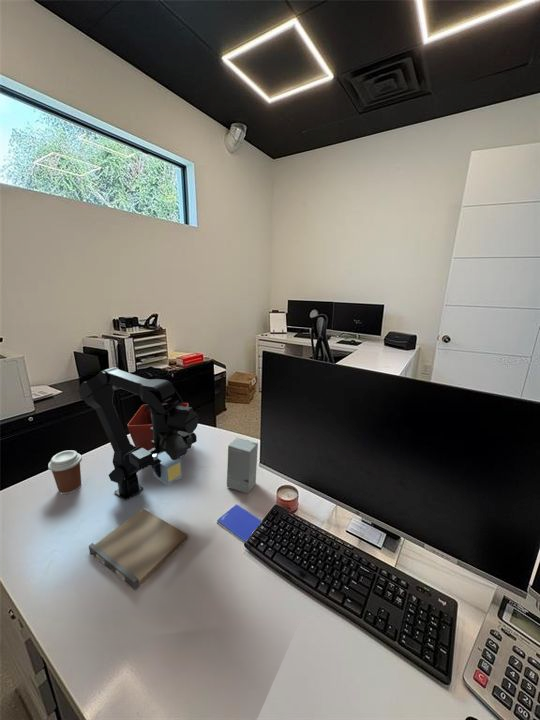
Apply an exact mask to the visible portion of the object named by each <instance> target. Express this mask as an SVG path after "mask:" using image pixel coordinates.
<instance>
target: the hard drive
mask: <svg viewBox="0 0 540 720" xmlns="http://www.w3.org/2000/svg"><path fill="white" fill-rule="evenodd" d="M261 521H262V520H261V519H260V518H258V517H257V516H255V515H254V514H252V513H251V512H249V511H248V510H246V509H245V508H244V507H242V506H240V505H239V504H235V505H234V506H232V507H231V508H229V510H228V511H226V512H225V513H223V514H222V515H221V516H220V517H219V518H218V519H217V520H216V523H217V524H218V525H219V526H221V527H222V528H223V529H225V530H226V531H227V532H229V533H230V534H231V535H233V536H234V537H235V538H237V539H238V540H240V541H241V542H242V543H244V542H246V540H247V539H248V538H249V537H250V535H251V534H252V532H253V531H254V530H255V529H256V528H257V527H258V526H259V524H260V523H261Z"/></svg>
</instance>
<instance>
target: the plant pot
mask: <svg viewBox="0 0 540 720" xmlns="http://www.w3.org/2000/svg"><path fill="white" fill-rule="evenodd" d="M168 403H169V402H168ZM168 403H167V402H165V404H168ZM147 405H148V404H147V403H146V404H145V403H144V404H142V405H140V407H139V409H138V410H137V411H136V413H134V415H133V417H132V418H131V419H130V420H129V421H128V423H127V429H128V432H129V435H130V437H131V440H132V443H133V446H135V447H140V448H144V449H146V450H147V451H149V450H151V449H153V448H154V445H152V442H151V441H153V440H154V439H153V433H152V432H151V431H150V428H152V419H151V411H149V410H145V409H144V407H146V406H147ZM180 406H184V407H190V405H189V403H188V402H184V403H183V404H181V405H180ZM177 432H178V430H177ZM164 452H165V451H164ZM162 453H163V452H162Z"/></svg>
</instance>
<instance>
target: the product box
mask: <svg viewBox="0 0 540 720" xmlns="http://www.w3.org/2000/svg"><path fill="white" fill-rule="evenodd" d="M158 459H160V460H161V462H160V470H161V477H160V478H159V477H158V476H157V474H156V473H155V471H154V470H153V469H152V471H153V477H155V478H156V479H158V480H159V481H161V482H162V483H163V484H165V485H166V486H168V485H170V484H171V483H173V482H175V481H177V480H178V479H180V478H182V477H183V473H182V472H183V470H182V460H181V457H180V458H178V459H177V460H172V459H171V458H170V456H169V455H168V454H167V453H166V452H163V453H160V454H158Z"/></svg>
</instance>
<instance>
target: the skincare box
mask: <svg viewBox="0 0 540 720" xmlns="http://www.w3.org/2000/svg"><path fill="white" fill-rule="evenodd" d="M258 447H259V443H258V442H255V441H251V440H249V439H245V438H241V437H236V438H235V439H233V440H232V442H230V443H229V444H228V449H227V466H226V467H227V470H226V471H227V472H226V474H227V475H226V488H228V489H232V490H234V491H238V492H241V493H244V494H249V493H250V492H251V490H252V488H253V487H254V485H255V484H256V480H257V465H258V449H259V448H258Z"/></svg>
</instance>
